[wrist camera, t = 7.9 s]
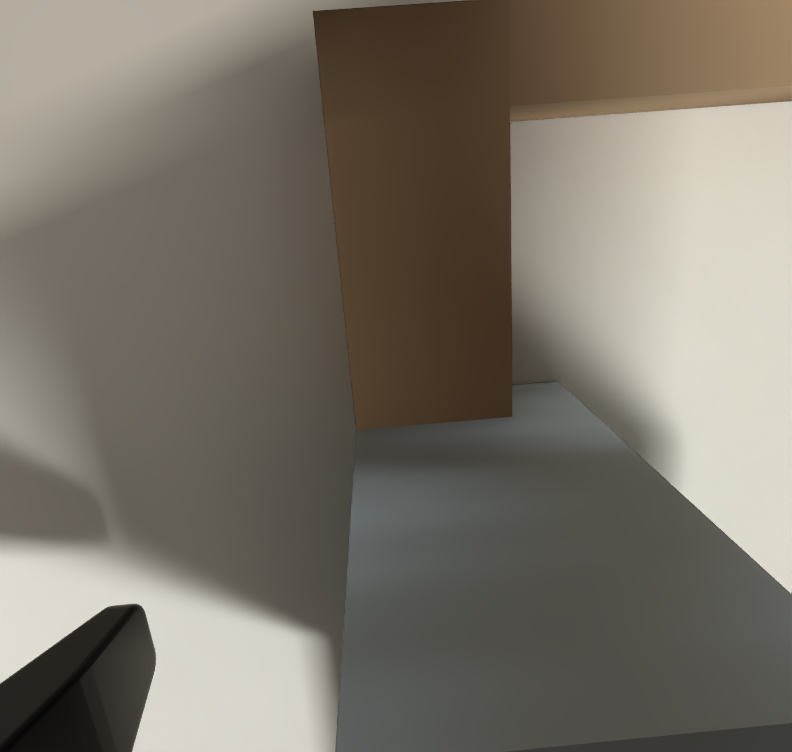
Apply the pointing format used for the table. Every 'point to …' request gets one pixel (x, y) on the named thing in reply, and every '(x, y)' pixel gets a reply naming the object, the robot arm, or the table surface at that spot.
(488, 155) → the wooden tray frame
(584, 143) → the table surface
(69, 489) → the table surface
